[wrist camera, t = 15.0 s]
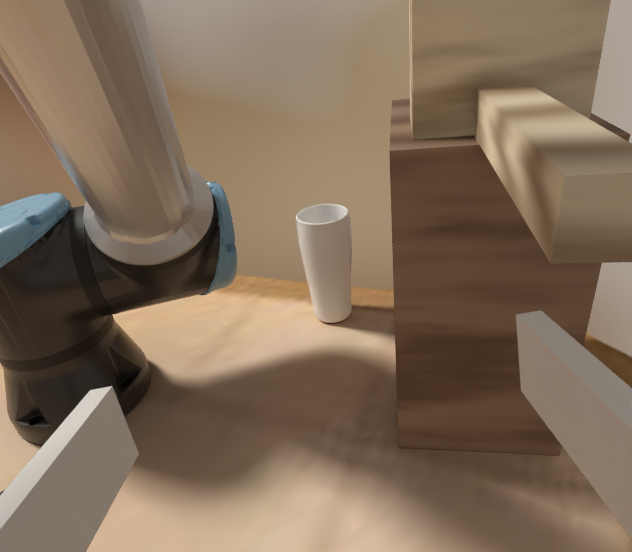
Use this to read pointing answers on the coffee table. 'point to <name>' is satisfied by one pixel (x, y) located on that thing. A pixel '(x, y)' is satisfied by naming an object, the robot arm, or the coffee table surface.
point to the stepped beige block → (528, 113)
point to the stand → (469, 296)
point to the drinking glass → (327, 259)
